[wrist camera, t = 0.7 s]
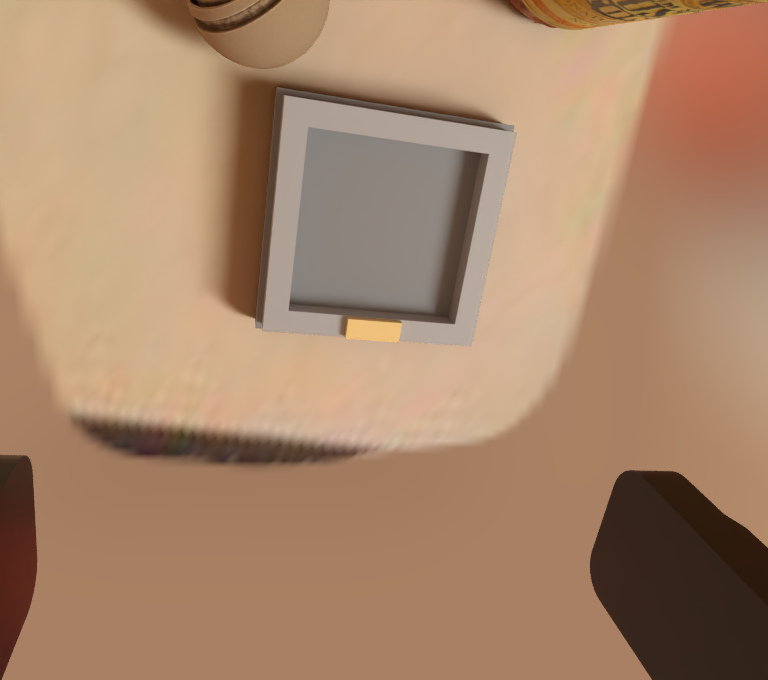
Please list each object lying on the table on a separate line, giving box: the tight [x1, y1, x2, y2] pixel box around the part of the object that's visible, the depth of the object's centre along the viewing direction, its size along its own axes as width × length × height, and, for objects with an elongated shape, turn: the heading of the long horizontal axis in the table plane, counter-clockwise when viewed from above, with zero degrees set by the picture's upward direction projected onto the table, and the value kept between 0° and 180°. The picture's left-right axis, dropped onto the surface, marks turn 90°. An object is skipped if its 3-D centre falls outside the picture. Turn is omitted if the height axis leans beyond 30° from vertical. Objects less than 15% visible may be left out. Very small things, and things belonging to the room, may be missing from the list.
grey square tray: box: [255, 87, 517, 346], centre depth 28 cm, size 10×10×2 cm
